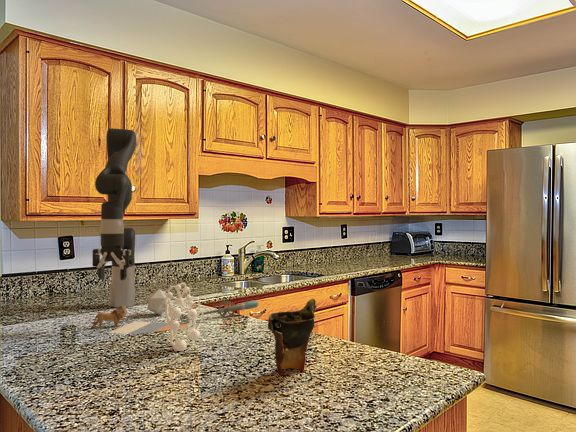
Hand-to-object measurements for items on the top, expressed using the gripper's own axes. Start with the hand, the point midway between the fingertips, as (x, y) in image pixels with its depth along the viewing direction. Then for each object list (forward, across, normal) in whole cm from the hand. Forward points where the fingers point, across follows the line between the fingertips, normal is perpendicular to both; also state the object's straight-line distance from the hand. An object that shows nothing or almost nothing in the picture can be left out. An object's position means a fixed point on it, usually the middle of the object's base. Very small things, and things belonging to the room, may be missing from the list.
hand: (112, 279), depth 161 cm
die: (+17, +7, +21) cm, 28 cm away
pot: (+16, +71, -34) cm, 80 cm away
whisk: (+18, +31, +21) cm, 42 cm away
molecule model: (+16, +36, -20) cm, 45 cm away
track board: (+16, +11, 0) cm, 20 cm away
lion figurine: (+17, -1, -1) cm, 17 cm away
